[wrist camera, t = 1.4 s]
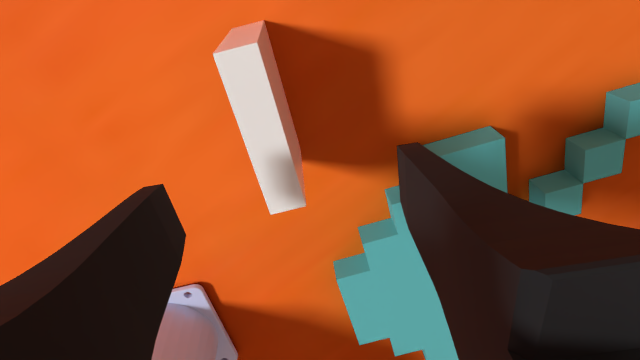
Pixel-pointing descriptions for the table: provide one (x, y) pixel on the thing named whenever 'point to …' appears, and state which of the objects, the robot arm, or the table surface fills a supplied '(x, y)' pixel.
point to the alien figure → (489, 167)
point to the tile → (262, 114)
